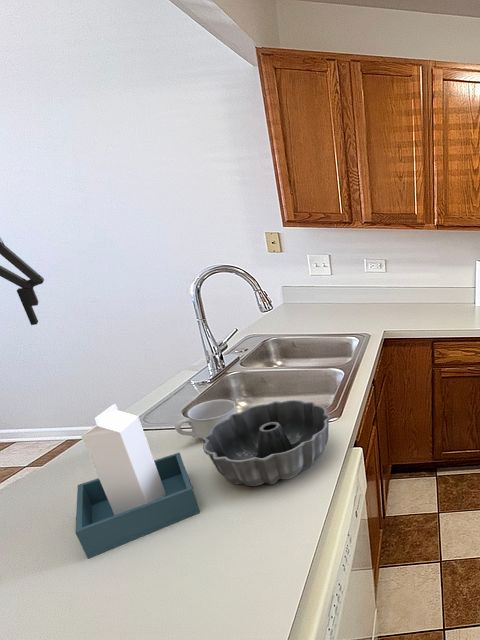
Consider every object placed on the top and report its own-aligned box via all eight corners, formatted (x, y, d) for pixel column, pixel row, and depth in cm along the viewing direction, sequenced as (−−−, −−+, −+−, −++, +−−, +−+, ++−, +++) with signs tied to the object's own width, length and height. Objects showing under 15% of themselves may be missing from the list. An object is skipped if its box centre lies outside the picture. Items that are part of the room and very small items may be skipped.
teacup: (235, 419, 114) (228, 395, 111) (246, 434, 107) (240, 408, 104) (176, 438, 105) (168, 411, 102) (184, 455, 98) (175, 427, 95)
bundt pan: (306, 501, 83) (299, 461, 79) (184, 498, 84) (170, 458, 80) (349, 433, 107) (345, 400, 104) (254, 431, 108) (247, 399, 105)
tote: (88, 508, 81) (77, 484, 78) (186, 474, 91) (179, 452, 89) (87, 558, 69) (75, 532, 67) (200, 512, 80) (192, 488, 77)
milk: (166, 495, 83) (134, 401, 75) (151, 515, 78) (115, 416, 70) (133, 499, 82) (97, 404, 74) (114, 520, 76) (73, 420, 68)
